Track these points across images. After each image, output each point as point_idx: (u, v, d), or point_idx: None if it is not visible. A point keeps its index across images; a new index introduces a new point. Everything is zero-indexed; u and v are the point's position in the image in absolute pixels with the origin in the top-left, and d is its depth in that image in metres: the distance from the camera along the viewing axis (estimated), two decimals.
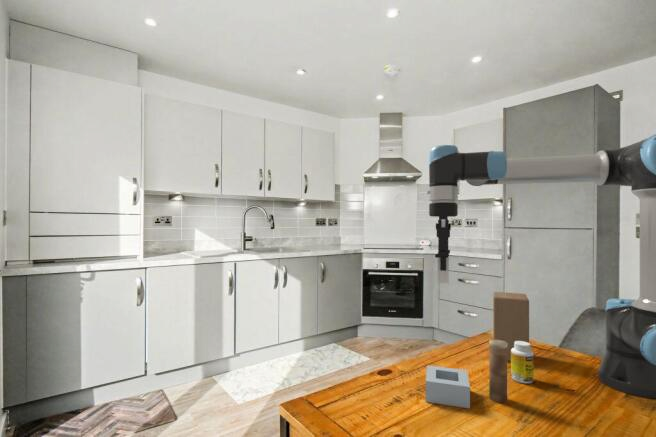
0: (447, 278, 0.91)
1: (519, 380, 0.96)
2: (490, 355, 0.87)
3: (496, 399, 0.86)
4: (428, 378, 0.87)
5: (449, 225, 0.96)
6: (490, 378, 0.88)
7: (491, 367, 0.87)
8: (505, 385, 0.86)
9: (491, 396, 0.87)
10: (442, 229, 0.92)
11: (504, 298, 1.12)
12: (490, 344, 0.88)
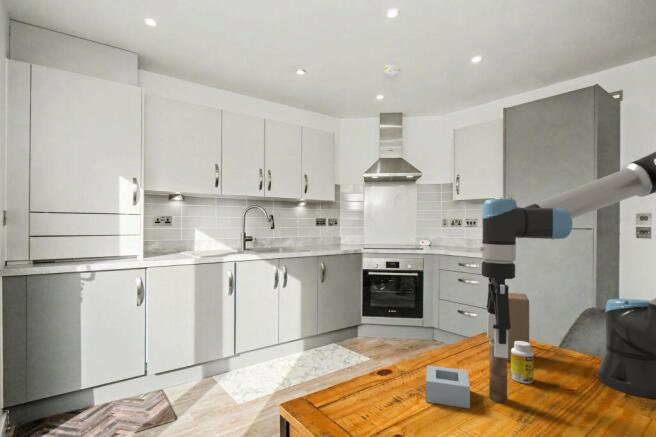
0: (506, 352, 0.81)
1: (519, 380, 0.96)
2: (490, 355, 0.87)
3: (496, 399, 0.86)
4: (428, 378, 0.87)
5: None
6: (490, 378, 0.88)
7: (491, 367, 0.87)
8: (505, 385, 0.86)
9: (491, 396, 0.87)
10: (501, 296, 0.81)
11: None
12: (490, 344, 0.88)
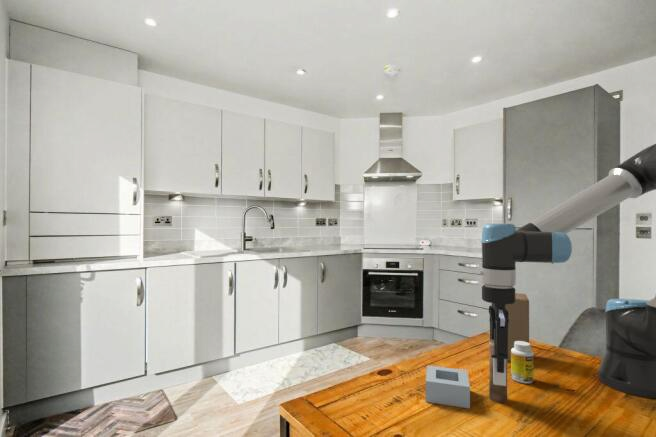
0: (504, 380, 0.85)
1: (519, 380, 0.96)
2: (490, 355, 0.87)
3: (496, 399, 0.86)
4: (428, 378, 0.87)
5: (506, 315, 0.85)
6: (490, 378, 0.88)
7: (491, 367, 0.87)
8: None
9: (491, 396, 0.87)
10: (501, 329, 0.82)
11: None
12: (490, 344, 0.88)
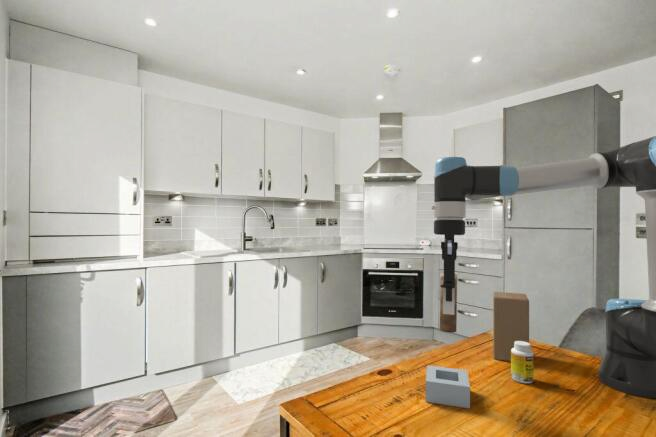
0: (453, 309, 0.87)
1: (519, 380, 0.96)
2: (441, 287, 0.89)
3: (445, 329, 0.88)
4: (428, 378, 0.87)
5: (456, 246, 0.87)
6: (440, 309, 0.89)
7: (441, 298, 0.89)
8: (454, 315, 0.88)
9: (441, 327, 0.89)
10: (448, 257, 0.84)
11: (504, 298, 1.12)
12: (440, 276, 0.89)
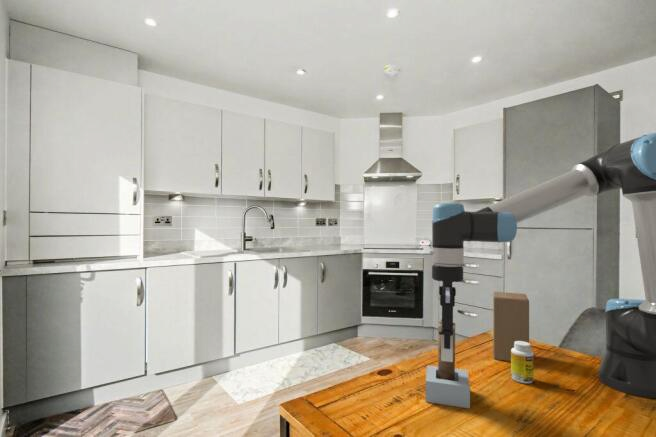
0: (451, 356, 0.87)
1: (519, 380, 0.96)
2: (439, 336, 0.89)
3: (443, 378, 0.88)
4: (428, 378, 0.87)
5: (454, 293, 0.87)
6: (438, 358, 0.89)
7: (439, 347, 0.89)
8: (452, 365, 0.88)
9: (439, 376, 0.89)
10: (446, 306, 0.84)
11: (504, 298, 1.12)
12: (439, 325, 0.89)
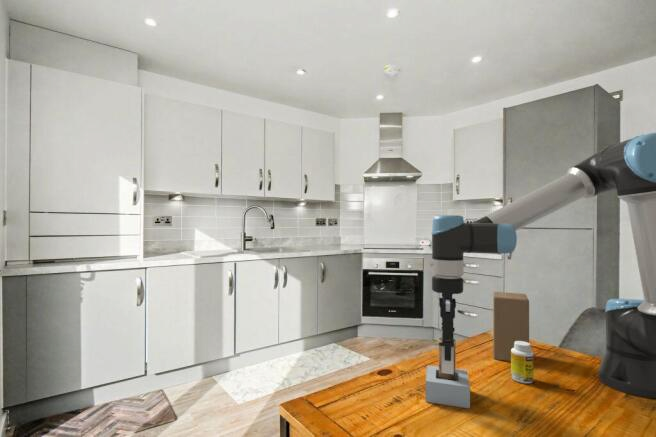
0: (452, 368, 0.84)
1: (519, 380, 0.96)
2: (439, 352, 0.89)
3: None
4: (428, 378, 0.87)
5: (454, 304, 0.87)
6: (439, 375, 0.89)
7: (440, 364, 0.89)
8: None
9: None
10: (446, 314, 0.83)
11: (504, 298, 1.12)
12: (439, 341, 0.89)
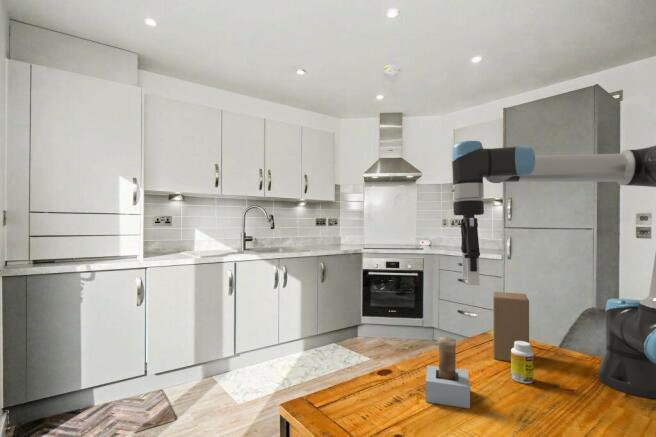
0: (478, 279, 0.87)
1: (519, 380, 0.96)
2: (439, 352, 0.89)
3: None
4: (428, 378, 0.87)
5: None
6: (439, 375, 0.89)
7: (440, 364, 0.89)
8: None
9: None
10: (471, 228, 0.88)
11: (504, 298, 1.12)
12: (439, 341, 0.89)
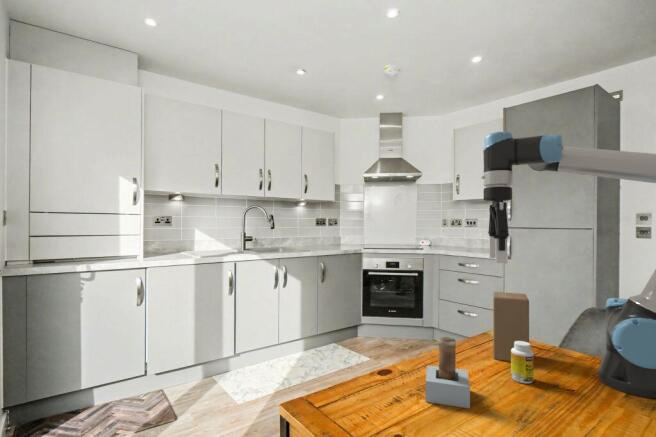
0: (505, 258, 0.95)
1: (519, 380, 0.96)
2: (439, 352, 0.89)
3: None
4: (428, 378, 0.87)
5: None
6: (439, 375, 0.89)
7: (440, 364, 0.89)
8: None
9: None
10: (500, 211, 0.96)
11: (504, 298, 1.12)
12: (439, 341, 0.89)
